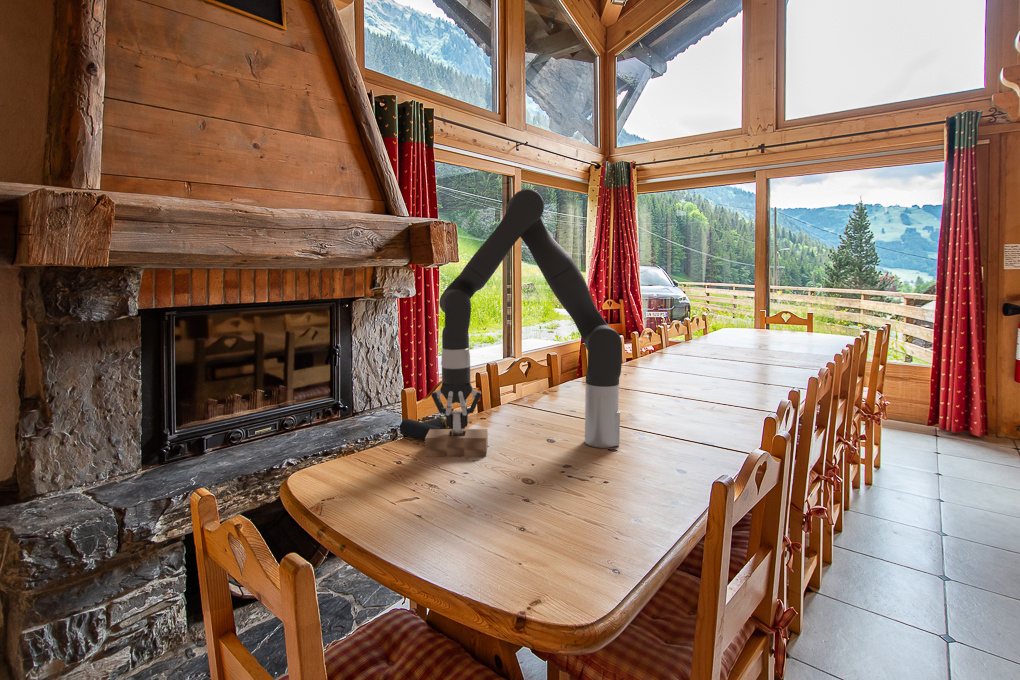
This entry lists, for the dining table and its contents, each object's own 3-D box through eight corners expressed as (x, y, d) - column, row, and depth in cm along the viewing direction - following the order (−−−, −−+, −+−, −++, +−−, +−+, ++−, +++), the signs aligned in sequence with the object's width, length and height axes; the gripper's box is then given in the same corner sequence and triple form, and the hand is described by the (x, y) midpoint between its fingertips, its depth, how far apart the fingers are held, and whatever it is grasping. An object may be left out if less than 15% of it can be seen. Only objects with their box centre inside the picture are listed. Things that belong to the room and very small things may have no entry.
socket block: (487, 446, 149) (487, 429, 148) (486, 456, 141) (485, 438, 141) (430, 446, 149) (429, 429, 149) (425, 456, 141) (424, 438, 141)
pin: (463, 446, 147) (463, 410, 145) (462, 449, 144) (462, 413, 142) (452, 446, 147) (452, 410, 145) (451, 449, 144) (450, 413, 142)
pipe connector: (428, 411, 167) (462, 420, 157) (429, 428, 168) (463, 437, 158) (399, 420, 158) (433, 430, 149) (399, 437, 159) (434, 448, 149)
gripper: (483, 362, 146) (483, 424, 148) (431, 362, 146) (433, 424, 148) (481, 367, 138) (482, 432, 141) (427, 367, 139) (428, 432, 141)
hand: (457, 427), depth 144 cm, fingers closed on pin, 3 cm apart
